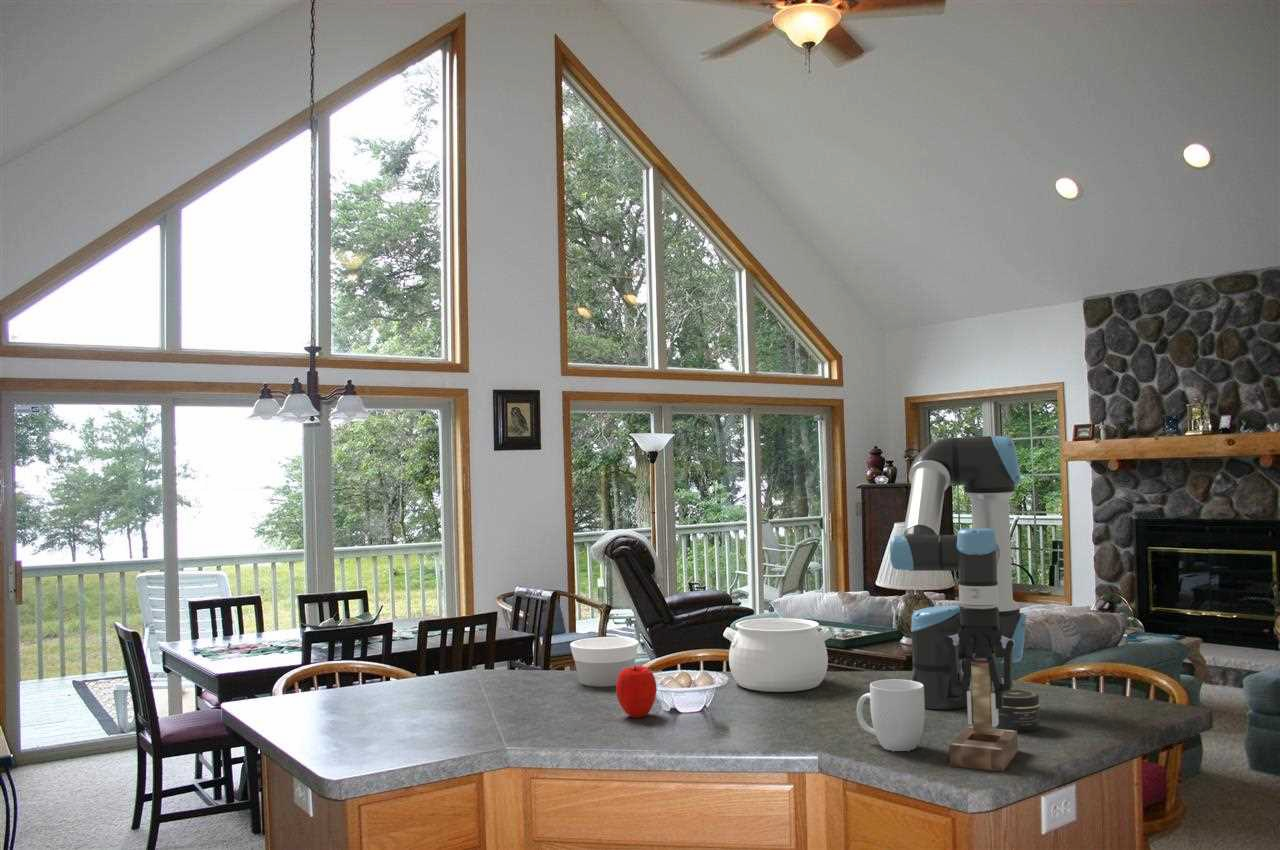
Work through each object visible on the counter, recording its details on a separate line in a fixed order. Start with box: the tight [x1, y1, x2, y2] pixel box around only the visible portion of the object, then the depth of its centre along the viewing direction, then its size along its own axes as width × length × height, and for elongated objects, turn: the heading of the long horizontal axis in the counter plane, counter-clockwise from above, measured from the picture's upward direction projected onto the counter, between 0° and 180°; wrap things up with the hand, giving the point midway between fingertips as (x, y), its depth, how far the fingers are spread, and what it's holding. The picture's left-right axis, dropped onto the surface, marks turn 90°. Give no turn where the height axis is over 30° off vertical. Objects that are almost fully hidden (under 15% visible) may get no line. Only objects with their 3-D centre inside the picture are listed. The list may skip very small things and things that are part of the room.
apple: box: [615, 664, 658, 719], centre depth 256 cm, size 10×10×12 cm
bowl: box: [569, 636, 640, 688], centre depth 297 cm, size 19×19×11 cm
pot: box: [722, 617, 833, 693], centre depth 287 cm, size 29×26×16 cm
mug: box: [856, 679, 926, 752], centre depth 223 cm, size 15×11×13 cm
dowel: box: [970, 659, 995, 734], centre depth 213 cm, size 4×4×14 cm
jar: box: [995, 688, 1040, 733], centre depth 236 cm, size 10×10×8 cm
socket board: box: [948, 725, 1019, 772], centre depth 213 cm, size 10×16×4 cm, turn 151°
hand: (983, 723), depth 213 cm, fingers closed on dowel, 4 cm apart
